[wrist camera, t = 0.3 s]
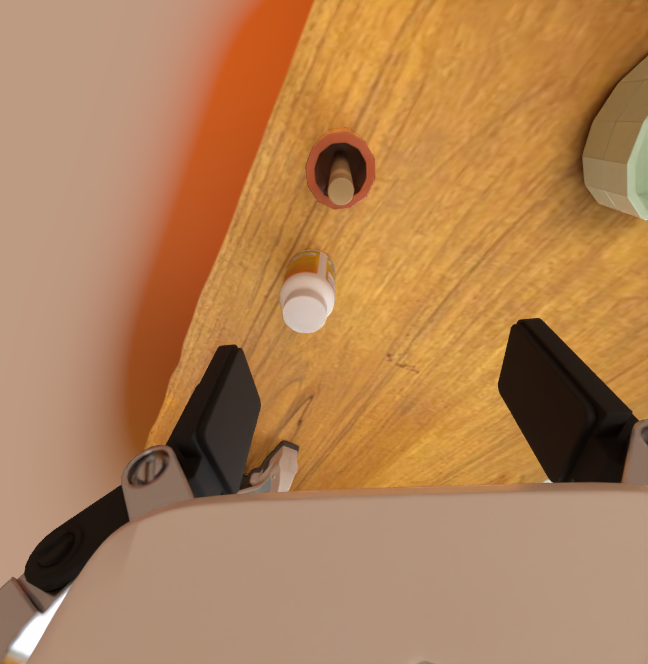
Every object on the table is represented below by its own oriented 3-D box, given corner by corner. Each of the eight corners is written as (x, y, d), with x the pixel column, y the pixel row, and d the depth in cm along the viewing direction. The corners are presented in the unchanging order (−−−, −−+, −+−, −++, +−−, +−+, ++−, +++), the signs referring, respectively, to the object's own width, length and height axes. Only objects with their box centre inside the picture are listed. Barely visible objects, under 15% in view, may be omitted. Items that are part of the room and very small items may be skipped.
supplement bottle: (279, 277, 37) (263, 322, 29) (303, 238, 34) (292, 277, 26) (319, 299, 38) (314, 349, 30) (344, 264, 36) (346, 308, 28)
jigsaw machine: (245, 494, 44) (317, 517, 47) (261, 430, 53) (321, 453, 56) (201, 545, 54) (263, 562, 57) (220, 485, 63) (273, 502, 66)
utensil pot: (311, 130, 28) (301, 137, 21) (365, 124, 28) (374, 128, 21) (317, 188, 31) (310, 211, 24) (366, 183, 31) (375, 205, 23)
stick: (331, 150, 29) (326, 178, 17) (347, 149, 29) (353, 176, 16) (333, 168, 30) (328, 207, 17) (348, 166, 30) (354, 204, 17)
